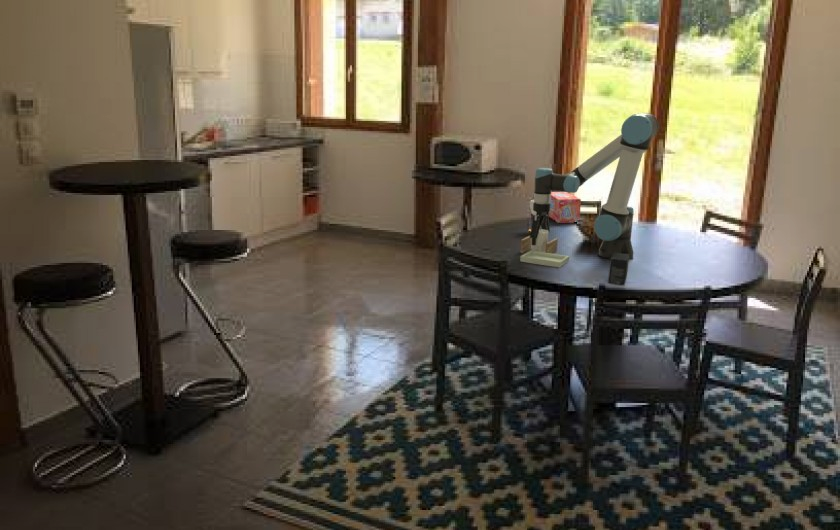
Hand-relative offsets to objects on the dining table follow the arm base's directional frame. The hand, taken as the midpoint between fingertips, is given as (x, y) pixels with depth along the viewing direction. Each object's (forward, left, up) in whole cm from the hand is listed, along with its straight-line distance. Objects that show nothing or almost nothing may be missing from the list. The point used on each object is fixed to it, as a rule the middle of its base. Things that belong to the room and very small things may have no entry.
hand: (538, 249), depth 314 cm
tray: (-8, +14, -1) cm, 16 cm away
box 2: (-43, +26, -2) cm, 50 cm away
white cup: (0, 0, -2) cm, 2 cm away
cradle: (0, 0, -1) cm, 1 cm away
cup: (+16, -40, -2) cm, 43 cm away
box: (+16, -78, -2) cm, 80 cm away
